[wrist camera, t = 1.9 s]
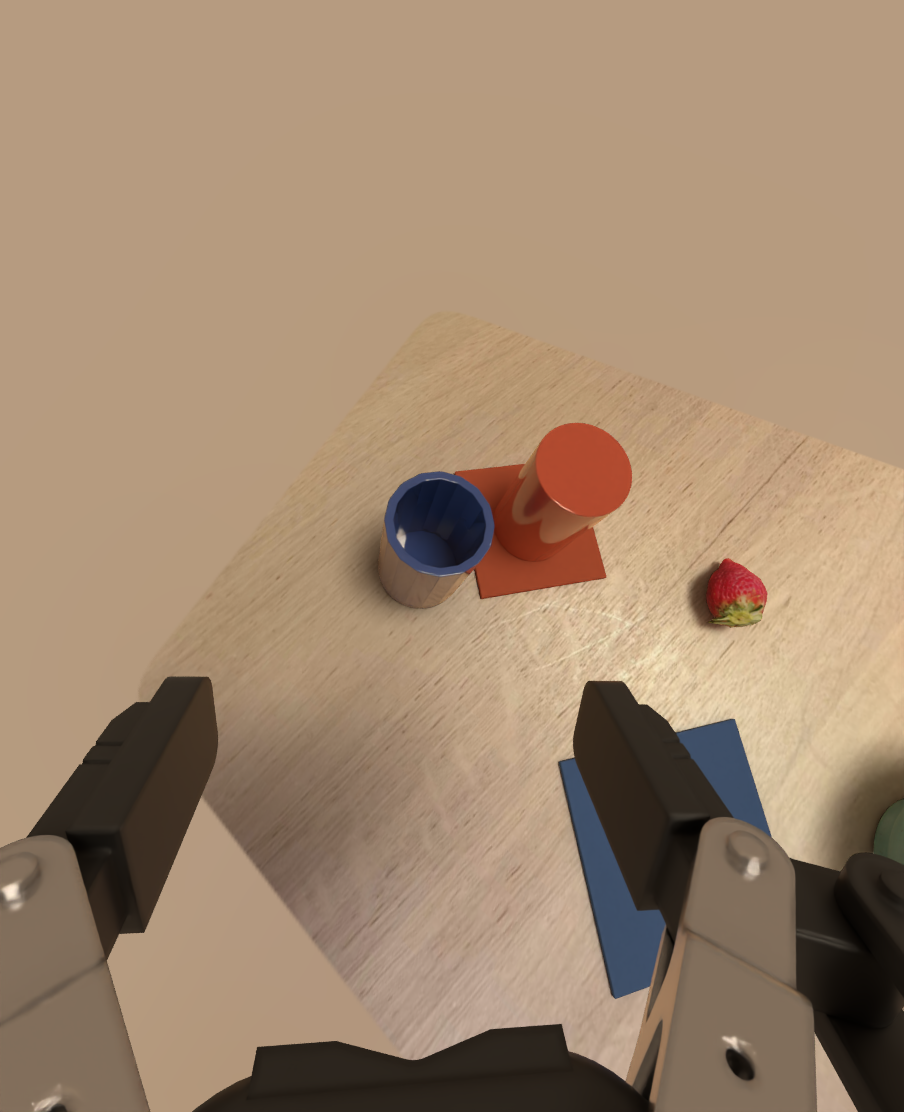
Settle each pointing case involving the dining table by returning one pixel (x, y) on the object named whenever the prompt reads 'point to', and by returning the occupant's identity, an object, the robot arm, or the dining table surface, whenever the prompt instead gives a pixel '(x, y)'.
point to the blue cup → (433, 538)
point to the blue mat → (618, 922)
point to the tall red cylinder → (562, 491)
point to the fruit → (735, 595)
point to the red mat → (517, 575)
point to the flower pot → (891, 833)
